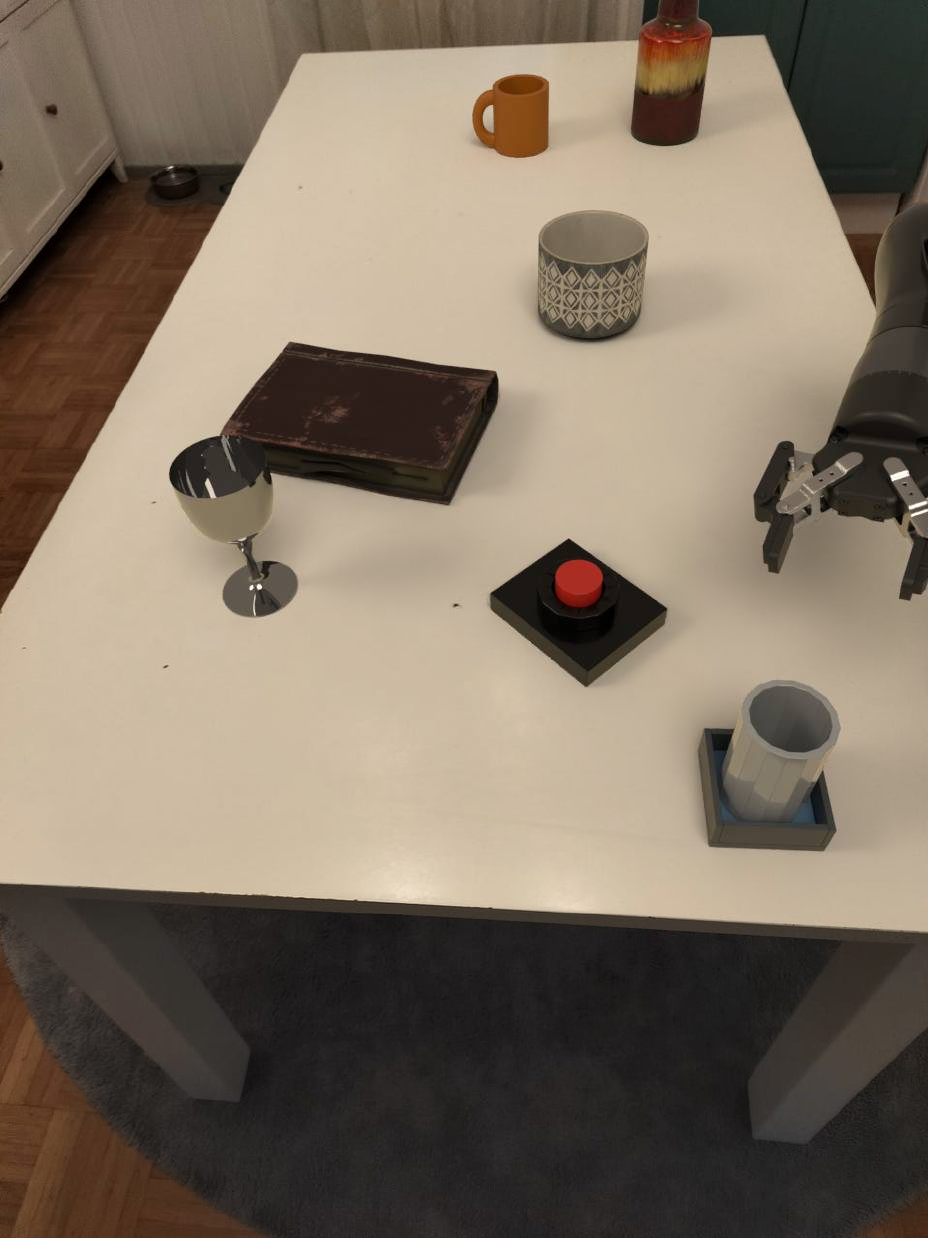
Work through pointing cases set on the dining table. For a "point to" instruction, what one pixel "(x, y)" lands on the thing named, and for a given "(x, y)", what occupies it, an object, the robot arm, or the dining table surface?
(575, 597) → the button
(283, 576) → the wine glass
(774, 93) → the dining table surface
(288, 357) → the diary
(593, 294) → the planter
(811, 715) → the tumbler
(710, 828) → the tray
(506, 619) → the control block
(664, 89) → the vase
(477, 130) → the mug
